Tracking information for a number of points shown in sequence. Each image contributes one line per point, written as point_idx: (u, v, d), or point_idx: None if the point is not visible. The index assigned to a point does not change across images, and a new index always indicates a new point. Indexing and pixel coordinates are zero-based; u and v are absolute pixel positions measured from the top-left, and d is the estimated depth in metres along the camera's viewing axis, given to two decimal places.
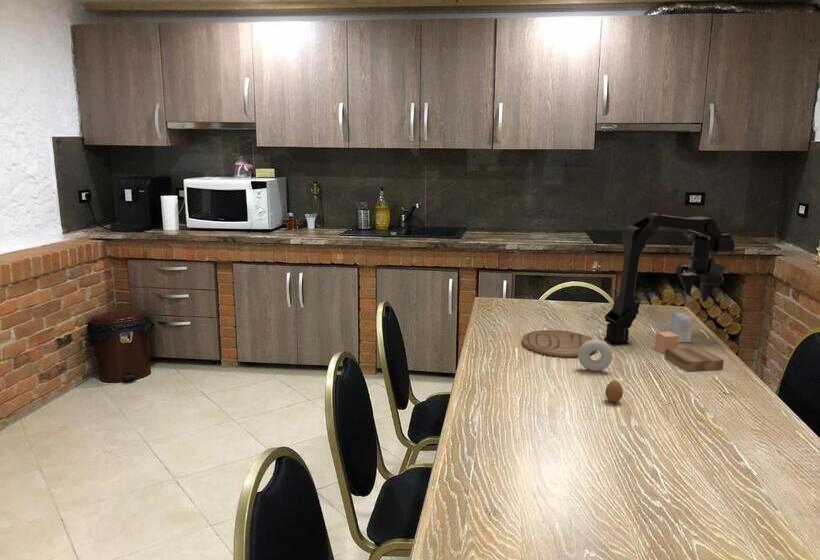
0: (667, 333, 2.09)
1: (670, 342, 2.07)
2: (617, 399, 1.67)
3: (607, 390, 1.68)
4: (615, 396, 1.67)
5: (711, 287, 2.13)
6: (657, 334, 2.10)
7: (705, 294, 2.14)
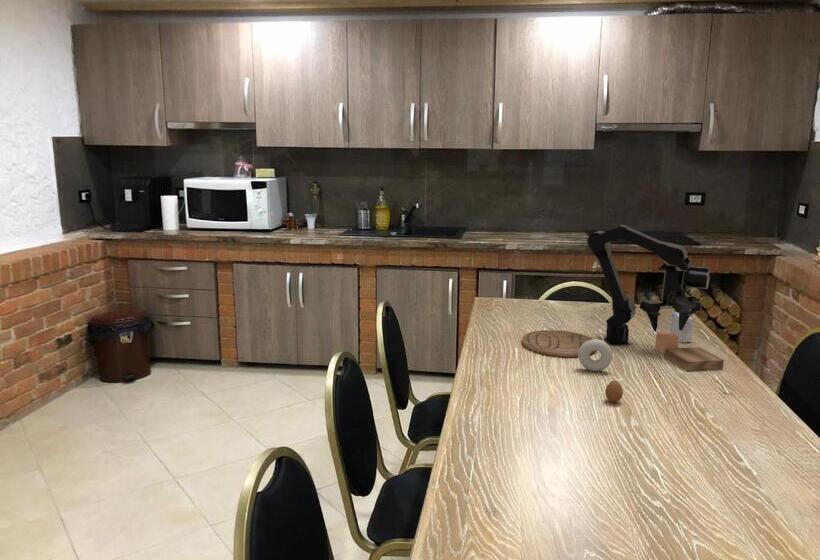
0: (667, 333, 2.09)
1: (670, 342, 2.07)
2: (617, 399, 1.67)
3: (607, 390, 1.68)
4: (615, 396, 1.67)
5: None
6: (657, 334, 2.10)
7: (651, 322, 2.07)
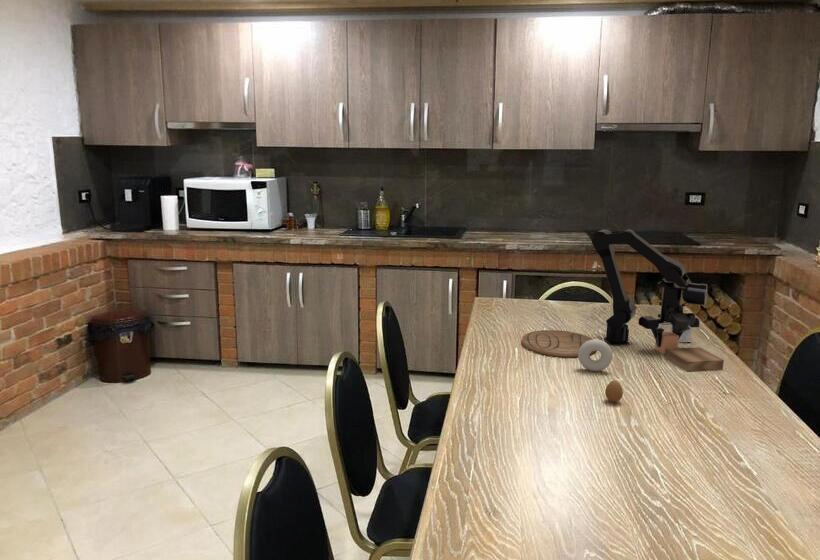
0: (667, 333, 2.09)
1: (670, 341, 2.07)
2: (617, 399, 1.67)
3: (607, 390, 1.68)
4: (615, 396, 1.67)
5: None
6: None
7: (656, 338, 2.09)
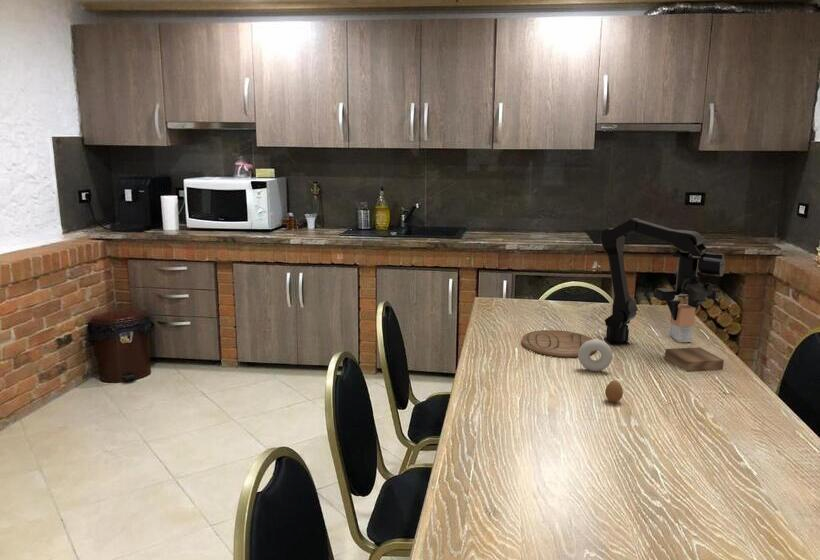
0: (682, 306, 2.01)
1: (687, 314, 1.99)
2: (617, 399, 1.67)
3: (607, 390, 1.68)
4: (615, 396, 1.67)
5: None
6: None
7: (671, 311, 2.01)
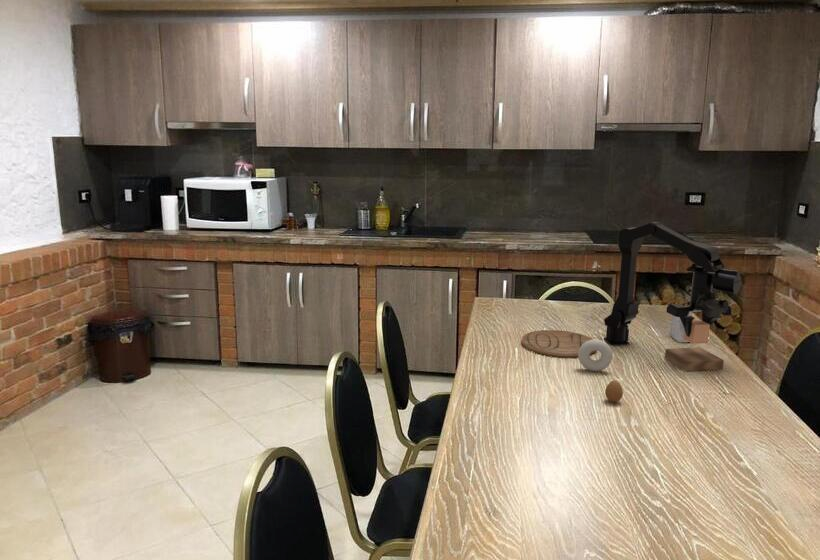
0: (696, 322, 1.96)
1: (701, 330, 1.94)
2: (617, 399, 1.67)
3: (607, 390, 1.68)
4: (615, 396, 1.67)
5: None
6: None
7: (685, 327, 1.96)
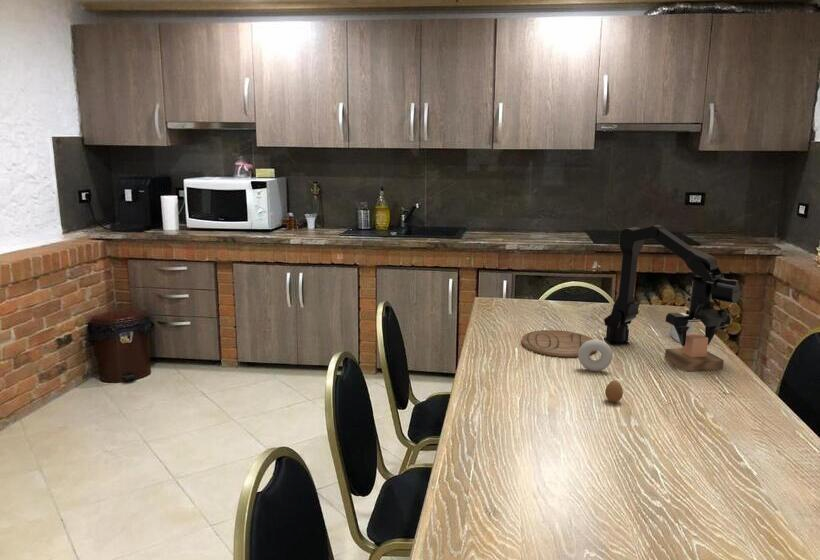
0: (695, 335, 1.97)
1: (699, 344, 1.95)
2: (617, 399, 1.67)
3: (607, 390, 1.68)
4: (615, 396, 1.67)
5: None
6: None
7: (680, 336, 1.96)
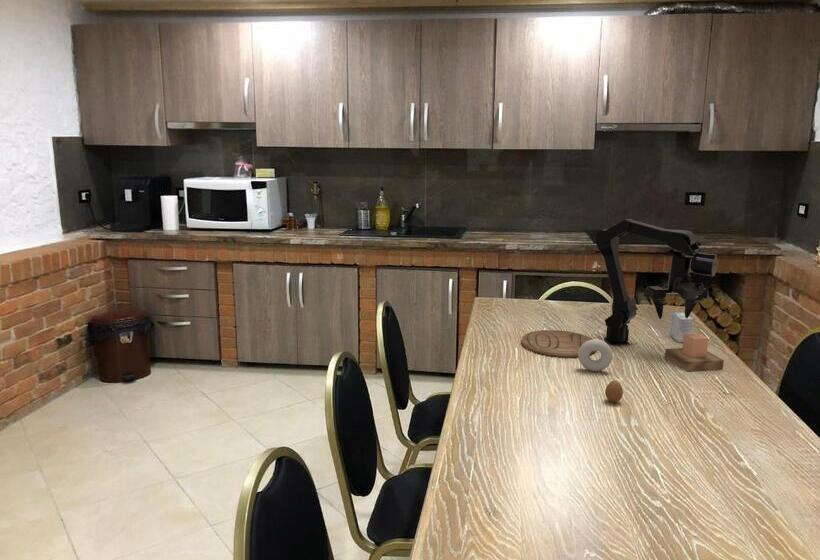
0: (695, 335, 1.97)
1: (699, 344, 1.95)
2: (617, 399, 1.67)
3: (607, 390, 1.68)
4: (615, 396, 1.67)
5: None
6: (685, 336, 1.98)
7: (657, 309, 2.03)
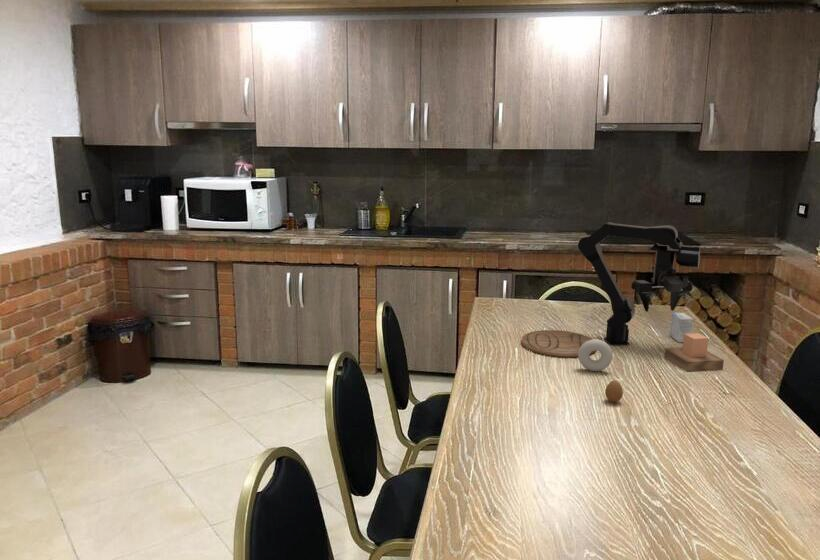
0: (695, 335, 1.97)
1: (699, 344, 1.95)
2: (617, 399, 1.67)
3: (607, 390, 1.68)
4: (615, 396, 1.67)
5: None
6: (685, 336, 1.98)
7: (643, 302, 2.08)
